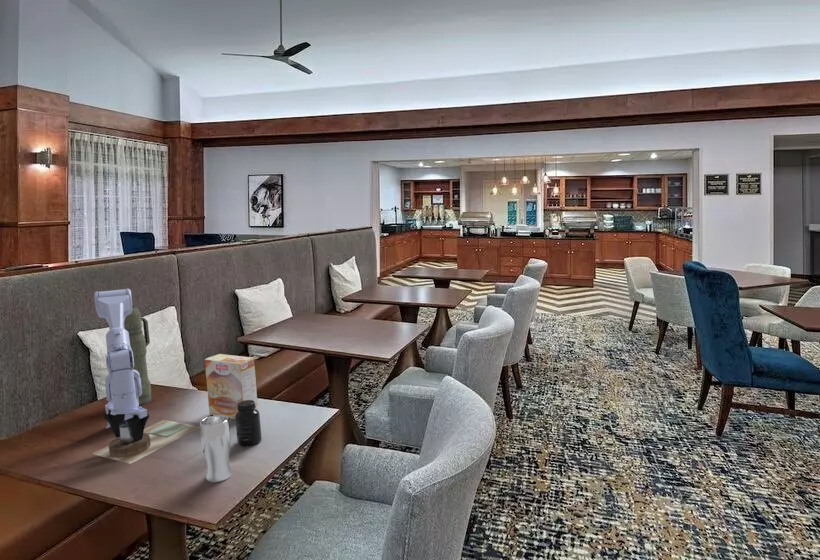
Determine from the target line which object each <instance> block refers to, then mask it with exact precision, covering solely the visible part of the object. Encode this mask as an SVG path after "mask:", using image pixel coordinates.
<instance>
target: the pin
mask: <svg viewBox="0 0 820 560" xmlns="http://www.w3.org/2000/svg"><path fill="white" fill-rule="evenodd" d="M119 428H120V436H121V444H122V445H129V444H133V443H135V442H134V439H133V436H132V431H131V428H130V426H129V424H128V423H127V422H126V420H124V421H121V422H120V423H119Z"/></svg>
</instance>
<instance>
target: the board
mask: <svg viewBox="0 0 820 560" xmlns="http://www.w3.org/2000/svg"><path fill="white" fill-rule="evenodd" d="M196 430H200V426H196V425H192V424H187V423H183V422H177V421H172V420H167V419H163V420H160V421H158V422H156V423H154V424H152V425H150V426H148V427H146V428H145V427H144V432H143V438H142V439H141V440H139V441H137V442H135V443H133V444H129V445H122V444H121V436H120V437H118V438H117V437H115V438H114V439H112V440H111V441H110V442H109V443H108V444H107V446H105V447H102V448H100V449H97V450H96V451H94V452H92V453H91V455H94V456H98V457H102V458H106V459H110V460H114V461H118V462H122V463H125V464H129V465H131V464H133V463H135V462H137V461H139V460H141V459H143V458H145V457H147V456H149V455H151V454H153V453H154V452H156V451H159V450H160V449H162V448H164V447H166V446H168V445H169V444H172V443H174V442H175V441H177V440H179V439H181V438H183V437H185V436H187V435H189V434H190V433H193V432H195V431H196Z"/></svg>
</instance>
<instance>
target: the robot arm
mask: <svg viewBox="0 0 820 560" xmlns="http://www.w3.org/2000/svg"><path fill="white" fill-rule="evenodd" d="M93 296H94V298H93V299H94V305H95V311H96V314H97V316H98V317H99V318H101V319H105V320H106V322H107V324H108V329H109V330H108V331H107V332H106V334H105V343H106V353H105V363H106V370H107V375H106V376H105V379H104V382H105V384H104V386H105V388H104V389H105V396H106V402H107V401H108V402H107V404H105V405H104V408H105V414H104V415H103V419H105V420H106V422H107V426H105V428H104V429H109V428H110V429H112V431H113V434H114V436H115V438H118V437H120V428H119V423H120V422H121V421H124V420H126V422H127V423H128V424H129V426H130V428H131V431H132V436H133V439H134V442H137V441H139V440H141V439H142V438H143V432H144V429H145V427H146V424H147V422H148V420H149V418H150V414H149V413H148V409H146V408H143V407H142V405H140V406H139V401H138V399H139V398H138V395H139V396H141V394H142V386H141V378H140V374H139V373H138V371H136V370H134V358H133V351H132V349H131V346H130V340H129V333H128V331H127V330H125V327H124V321H125V317H126V316H127V315H129V314H131V313H132V306H134V305H133V298H132V290H131V289H130V288H124V289H115V290H114V289H113V290H103V291H98V290H97V291H95V292H94V294H93ZM130 363H132V364H133V368H132V367H131V366H130ZM136 379H137V380H136Z"/></svg>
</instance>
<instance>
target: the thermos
mask: <svg viewBox="0 0 820 560" xmlns="http://www.w3.org/2000/svg"><path fill="white" fill-rule="evenodd" d="M148 323H149V322H148V320H147V319H146V318H144V317H142V314H141V312H140V310H139V307H138V306H135V305H133V306H132V313H131V314H129V315H127V316H126V317H125V321H124V327H125V330H127V331H128V333H129V340H130V346H131V349H132V351H133V358H134V370H136V371H138V373H139V374H140V378H141V386H142V394H141V396H139V395H138V398H139V399H138V401H139V405H140V406H144V405H146V404H148V403H151V402H152V387H151V381H150V380H149V375H148V367H147V366H148V365H147V356H146V355H147V346H149V344H151V343H150V341H151V340H150V333H149V331H150V329H149V324H148ZM130 366H131V367H132V368H133V364H132V363H130ZM136 380H137V379H136ZM143 404H144V405H143Z"/></svg>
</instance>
